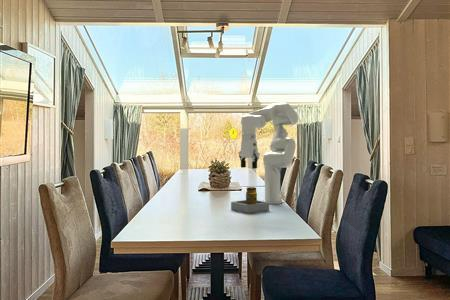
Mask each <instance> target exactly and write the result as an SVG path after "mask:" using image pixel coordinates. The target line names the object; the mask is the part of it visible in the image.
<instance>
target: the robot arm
mask: <svg viewBox="0 0 450 300" xmlns="http://www.w3.org/2000/svg"><path fill="white" fill-rule="evenodd" d="M298 121H299V115H298V113H297V112H296V110H295V109H294V107H293V106H292V105H290V104H289V103H288V102H275V103H270V104H269V105H268V106H266V107H264V108H262V109H258V110H254V111H252V112H248V113H247V114H245V115H242V117H241V120H240V124H241V141H240V151H239V152H237V153H238V157H239V160H240V168H246V167H247V161H246V159H248V158H250V159H251V160H252V161H251V168H252V169H253V170H255V169H256V170H257V169H258V161H259V159H260V156H261V154H260V153H259V151H258V142H257V139H256V137H257V136H256V129H262V128H264V127H265V125H266V124H267V123H269V122H272V125H273V129H274V133H273V136H272V140H271V142H270V145H269V149H270V151H268V152H265V153H264V154H263V158H262V160H263V162H262V163H263V167H264V199H263V200H261V201H263V202H269V205H278V204H282V203H284V201H283V200H282V199H286V197H287V195H285V194H284V195H282V194H281V173H280V170H279V169H278V168H283V169H284V168H285V169H286V168H289V167H290V166H291V164H292V162H293V158H294V155H295V151H296V147H297V146H296V145H297V144H296V141H295V139H294V138H293V137H292V138H291V137H288V131H287V129H286V128H285V127H284V126H295V125H296V124H297V123H298Z"/></svg>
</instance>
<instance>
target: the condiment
mask: <svg viewBox="0 0 450 300" xmlns="http://www.w3.org/2000/svg"><path fill="white" fill-rule="evenodd" d="M257 194H258V193H257V187H255V186H253V187H252V186H249V187H248V186H247V187H246V193H245V200H246V205H251V204H257V200H258V198H257V197H258V195H257Z"/></svg>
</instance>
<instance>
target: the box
mask: <svg viewBox="0 0 450 300" xmlns="http://www.w3.org/2000/svg"><path fill="white" fill-rule="evenodd" d="M230 210H231V211H236V212H240V213H243V214H255V213H264V212H269V211H270V204H269V202H263V201H262V200H258V199H257V204H251V205H246V199H244V200H243V199H242V200H236V201H231V202H230Z"/></svg>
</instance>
